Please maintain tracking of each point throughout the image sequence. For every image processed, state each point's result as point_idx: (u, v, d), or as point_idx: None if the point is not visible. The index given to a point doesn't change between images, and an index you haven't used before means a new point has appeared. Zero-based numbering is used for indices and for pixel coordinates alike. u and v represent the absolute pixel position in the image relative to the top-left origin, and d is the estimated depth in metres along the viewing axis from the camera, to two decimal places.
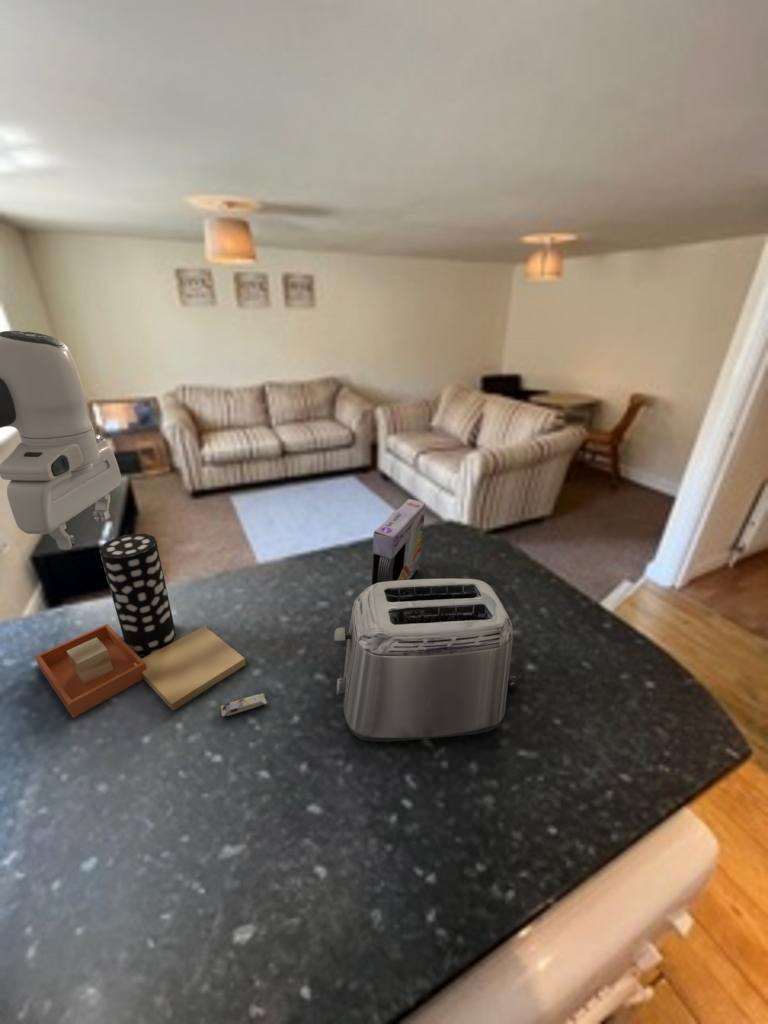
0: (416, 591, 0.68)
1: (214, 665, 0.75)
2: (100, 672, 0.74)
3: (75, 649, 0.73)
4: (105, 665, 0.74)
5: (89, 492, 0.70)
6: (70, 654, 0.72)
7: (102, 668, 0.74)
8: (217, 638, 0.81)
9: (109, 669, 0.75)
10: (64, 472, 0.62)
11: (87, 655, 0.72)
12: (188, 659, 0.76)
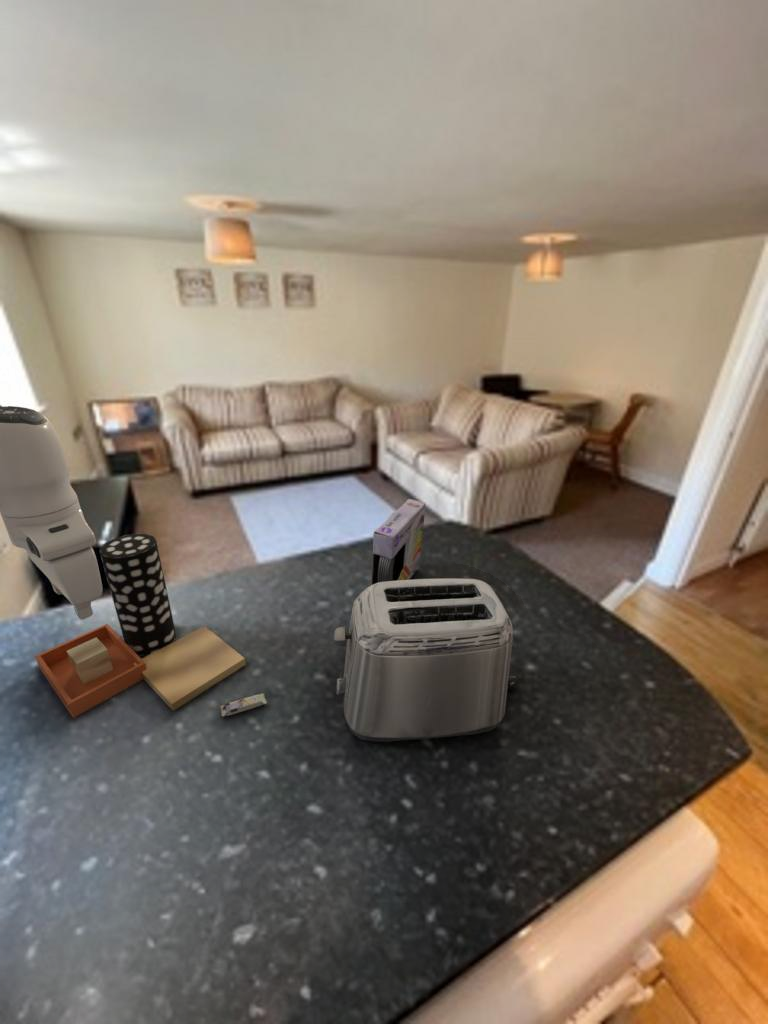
0: (416, 590, 0.68)
1: (214, 665, 0.75)
2: (100, 672, 0.74)
3: (75, 649, 0.73)
4: (105, 665, 0.74)
5: None
6: (70, 654, 0.72)
7: (102, 668, 0.74)
8: (217, 638, 0.81)
9: (109, 669, 0.75)
10: None
11: (87, 655, 0.72)
12: (188, 659, 0.76)
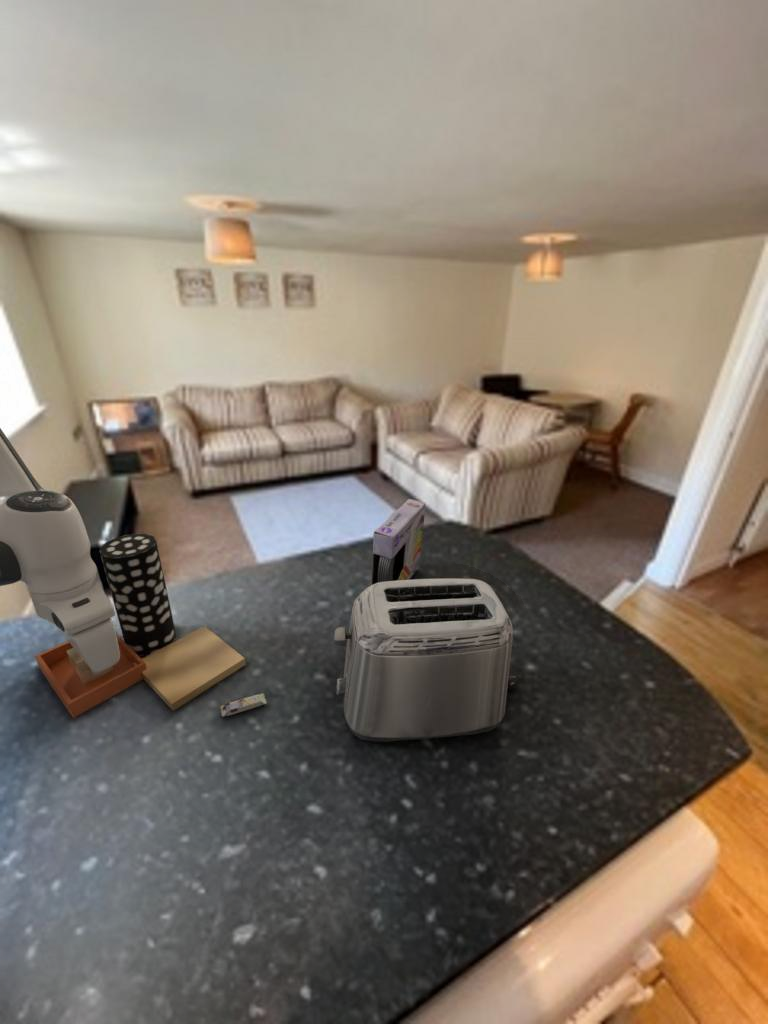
0: (416, 590, 0.68)
1: (214, 665, 0.75)
2: None
3: None
4: None
5: None
6: (70, 654, 0.72)
7: None
8: (217, 638, 0.81)
9: (109, 669, 0.75)
10: None
11: None
12: (188, 659, 0.76)
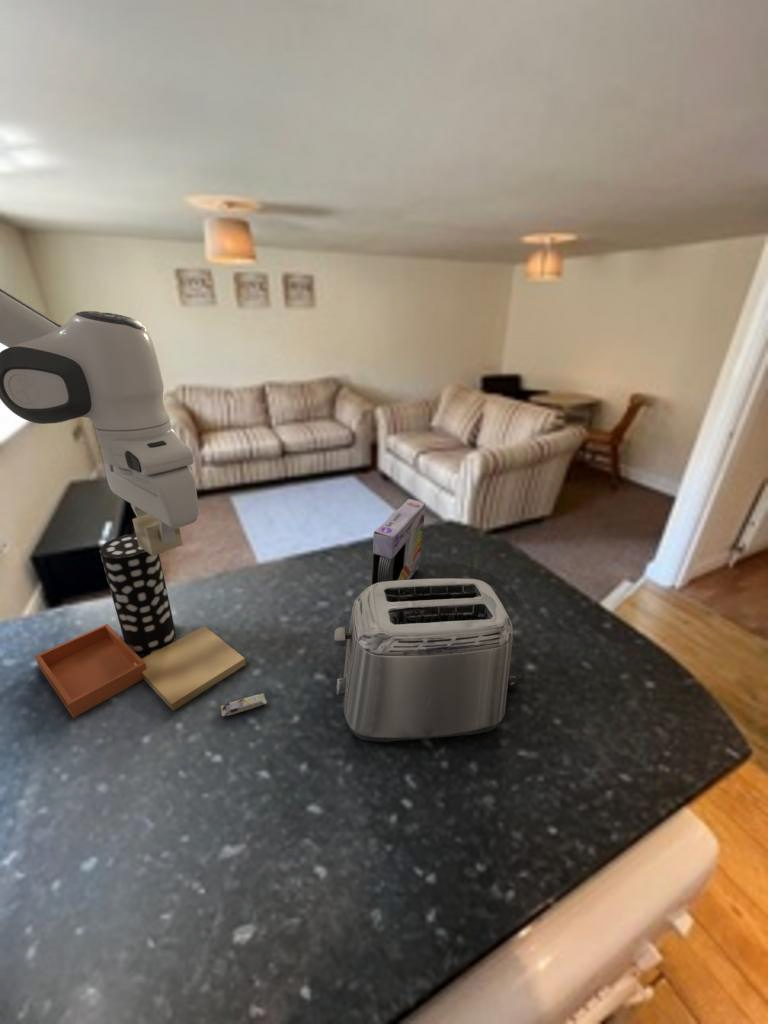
0: (416, 590, 0.68)
1: (214, 665, 0.75)
2: (169, 544, 0.65)
3: (142, 517, 0.65)
4: None
5: None
6: (137, 521, 0.64)
7: None
8: (217, 638, 0.81)
9: (179, 543, 0.66)
10: None
11: (157, 522, 0.64)
12: (188, 659, 0.76)
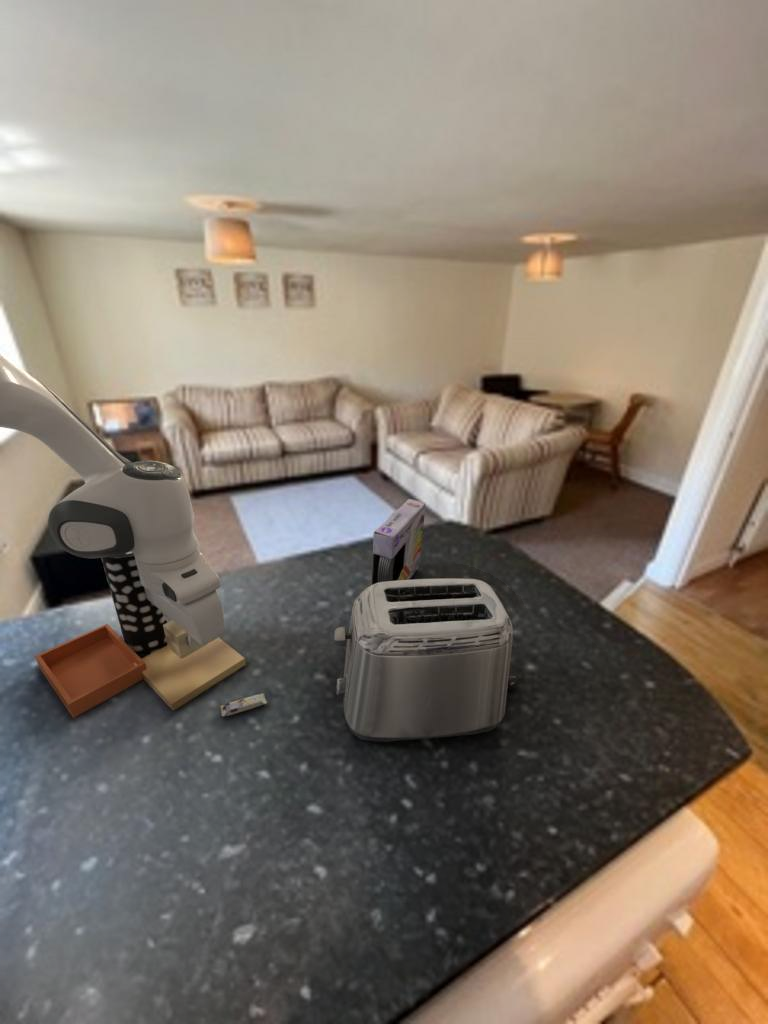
0: (416, 590, 0.68)
1: (214, 665, 0.75)
2: None
3: (171, 623, 0.73)
4: None
5: None
6: (167, 628, 0.72)
7: None
8: (217, 638, 0.81)
9: None
10: None
11: None
12: (188, 659, 0.76)
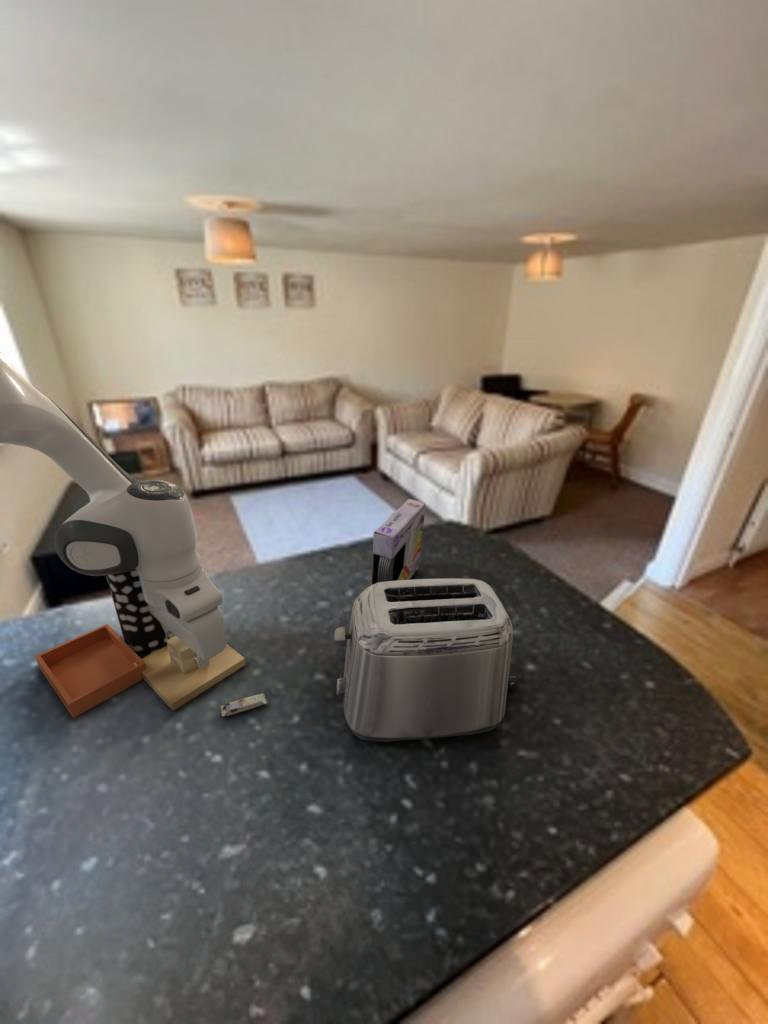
0: (416, 590, 0.68)
1: (214, 665, 0.75)
2: None
3: (174, 638, 0.74)
4: None
5: None
6: (171, 643, 0.73)
7: None
8: None
9: None
10: None
11: None
12: None
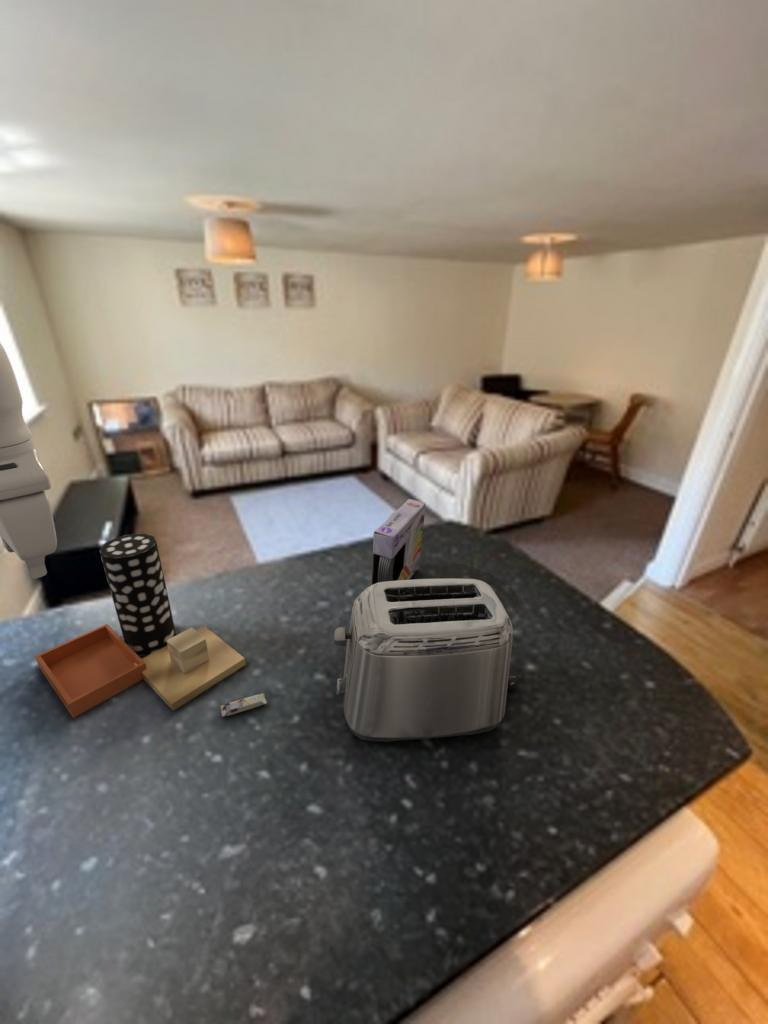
0: (416, 590, 0.68)
1: (214, 665, 0.75)
2: (198, 661, 0.75)
3: (174, 638, 0.74)
4: (203, 654, 0.75)
5: None
6: (171, 643, 0.73)
7: (200, 657, 0.75)
8: (217, 638, 0.81)
9: (206, 659, 0.76)
10: None
11: (188, 645, 0.73)
12: None
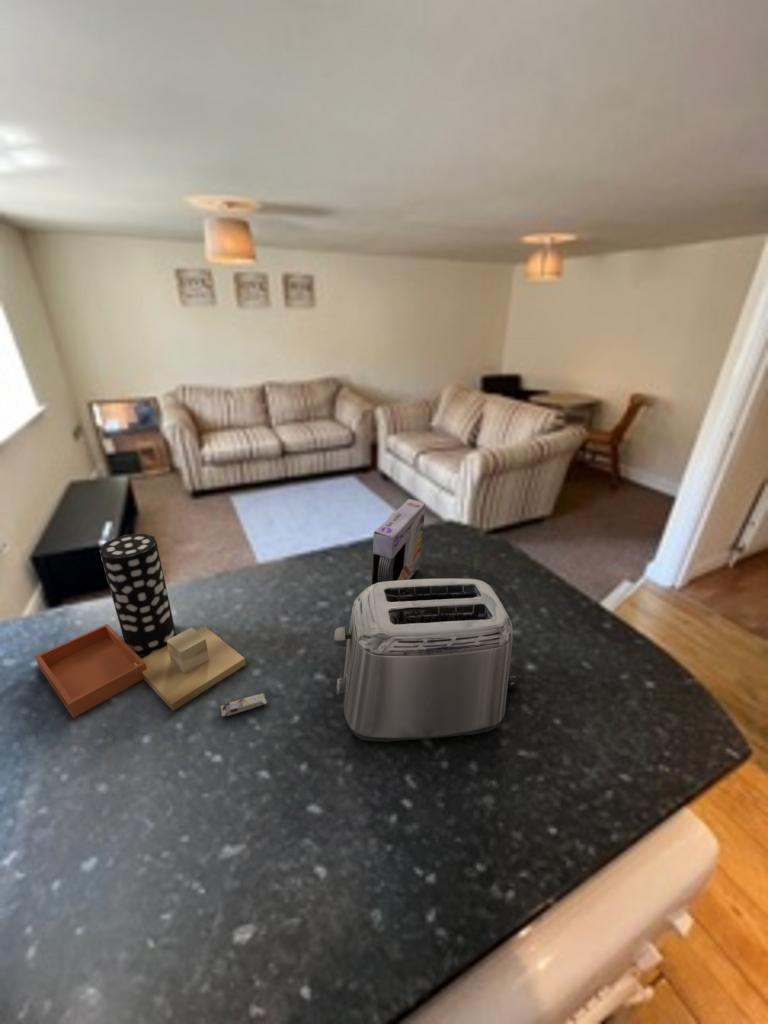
0: (416, 590, 0.68)
1: (214, 665, 0.75)
2: (198, 661, 0.75)
3: (174, 638, 0.74)
4: (203, 654, 0.75)
5: None
6: (171, 643, 0.73)
7: (200, 657, 0.75)
8: (217, 638, 0.81)
9: (206, 659, 0.76)
10: None
11: (188, 645, 0.73)
12: None
